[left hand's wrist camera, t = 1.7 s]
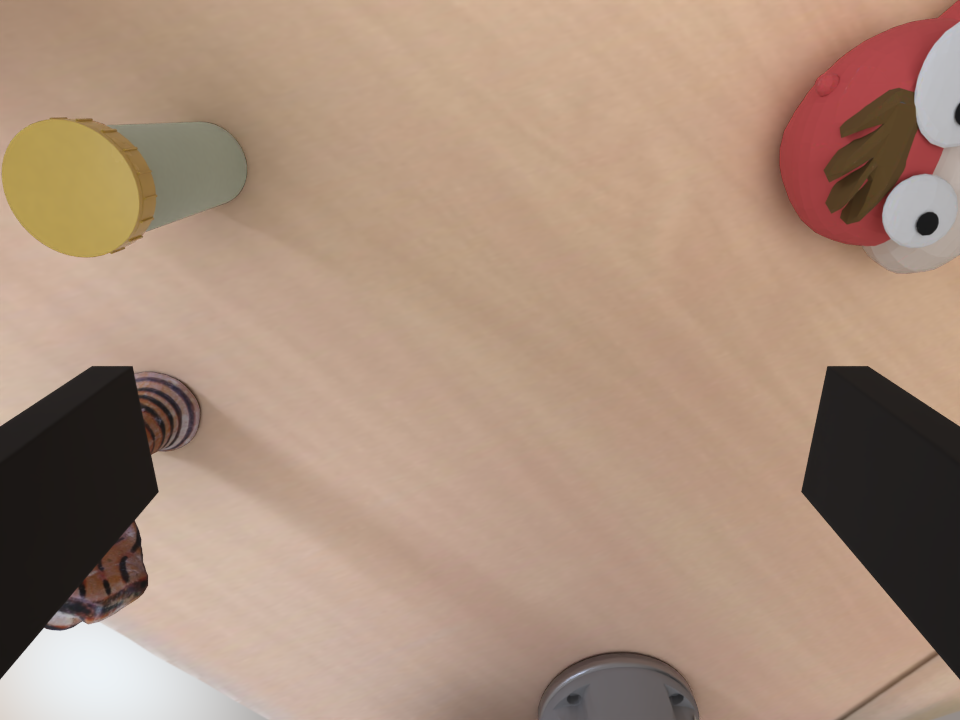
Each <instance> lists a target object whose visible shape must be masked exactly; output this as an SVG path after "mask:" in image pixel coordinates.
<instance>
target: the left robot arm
mask: <svg viewBox="0 0 960 720" xmlns="http://www.w3.org/2000/svg"><path fill="white" fill-rule="evenodd" d="M158 492H159V491H158V487H157V482H156V477H155V472H154V467H153V462H152V458H151V453H150V448H149V443H148V438H147V434H146V429H145V424H144V419H143V414H142V409H141V405H140V400H139V395H138V390H137V385H136V381H135V376H134V371H133V366H92V367H90V368H89V369H87V370H86V371H84V372H83V373H81V374H79V375H78V376H76V377H75V378H73V379H72V380H70V381H69V382H67V383H66V384H64V385H63V386H61V387H60V388H58V389H57V390H55V391H54V392H52V393H51V394H49V395H48V396H46V397H44V398H43V399H41V400H40V401H38V402H37V403H35V404H34V405H32V406H31V407H29V408H28V409H26V410H25V411H23V412H22V413H20V414H19V415H17V416H16V417H14V418H13V419H11V420H9V421H8V422H6V423H5V424H3V425H2V426H0V679H1V678H2V677H3V675H4V674H5V673H6V672H7V671H8V669H9V668H10V667H11V666H12V665H13V664H14V662H15V661H16V660H17V659H18V658H19V656H20V655H21V654H22V653H23V652H24V651H25V649H26V648H27V647H28V646H29V645H30V643H31V642H32V641H33V640H34V639H35V638H36V636H37V635H38V634H39V633H40V632H41V630H42V629H43V628H44V627H45V626H46V625H47V623H48V622H49V621H50V620H51V619H52V617H53V616H54V615H55V614H56V613H57V612H58V610H59V609H60V608H61V607H62V606H63V604H64V603H65V602H66V601H67V600H68V598H69V597H70V596H71V595H72V594H73V593H74V591H75V590H76V589H77V588H78V587H79V585H80V584H81V583H82V582H83V581H84V580H85V578H86V577H87V576H88V575H89V574H90V572H91V571H92V570H93V569H94V568H95V567H96V565H97V564H98V563H99V562H100V561H101V559H102V558H103V557H104V556H105V555H106V554H107V552H108V551H109V550H110V549H111V548H112V546H113V545H114V544H115V543H116V542H117V540H118V539H119V538H120V537H121V536H122V535H123V533H124V532H125V531H126V530H127V529H128V527H129V526H130V525H131V524H132V523H133V522H134V520H135V519H136V518H137V517H138V516H139V514H140V513H141V512H142V511H143V510H144V509H145V507H146V506H147V505H148V504H149V503H150V501H151V500H152V499H153V498H154V497H155V496H156V494H157V493H158ZM801 492H802V493H803V494H804V496H805V497H806V498H807V499H808V500H809V501H810V503H811V504H812V505H813V506H814V507H815V509H816V510H817V511H818V512H819V513H820V514H821V516H822V517H823V518H824V519H825V520H826V522H827V523H828V524H829V525H830V526H831V527H832V529H833V530H834V531H835V532H836V533H837V535H838V536H839V537H840V538H841V539H842V540H843V542H844V543H845V544H846V545H847V546H848V548H849V549H850V550H851V551H852V552H853V554H854V555H855V556H856V557H857V558H858V559H859V561H860V562H861V563H862V564H863V565H864V567H865V568H866V569H867V570H868V571H869V572H870V574H871V575H872V576H873V577H874V578H875V580H876V581H877V582H878V583H879V584H880V585H881V587H882V588H883V589H884V590H885V591H886V593H887V594H888V595H889V596H890V597H891V598H892V600H893V601H894V602H895V603H896V604H897V606H898V607H899V608H900V609H901V610H902V612H903V613H904V614H905V615H906V616H907V617H908V619H909V620H910V621H911V622H912V623H913V625H914V626H915V627H916V628H917V629H918V630H919V632H920V633H921V634H922V635H923V636H924V638H925V639H926V640H927V641H928V642H929V643H930V645H931V646H932V647H933V648H934V649H935V651H936V652H937V653H938V654H939V655H940V656H941V658H942V659H943V660H944V661H945V662H946V664H947V665H948V666H949V667H950V668H951V670H952V671H953V672H954V673H955V674H956V675H957V677H958V678H959V679H960V426H958V425H957V424H955V423H954V422H952V421H951V420H949V419H947V418H946V417H944V416H943V415H941V414H940V413H938V412H937V411H935V410H934V409H932V408H931V407H929V406H928V405H926V404H925V403H923V402H922V401H920V400H919V399H917V398H916V397H914V396H912V395H911V394H909V393H908V392H906V391H905V390H903V389H902V388H900V387H899V386H897V385H896V384H894V383H893V382H891V381H890V380H888V379H887V378H885V377H884V376H882V375H881V374H879V373H877V372H876V371H874V370H873V369H871V368H870V367H868V366H827V371H826V376H825V380H824V385H823V390H822V395H821V400H820V405H819V409H818V414H817V419H816V424H815V429H814V434H813V438H812V443H811V448H810V453H809V458H808V462H807V467H806V472H805V477H804V482H803V487H802V491H801ZM538 720H699V712H698V708H697V705H696V702H695V699H694V697H693V694H692V691H691V689H690V687H689V685H688V683H687V682H686V680H685V679H684V678H683V677H682V676H681V675H680V674H679V673H678V672H677V671H676V670H675V669H673V668H672V667H671V666H669V665H667V664H666V663H664V662H662V661H659V660H657V659H654V658H651V657H648V656H644V655H639V654H631V653H614V654H605V655H600V656H596V657H592V658H589V659H586V660H583V661H581V662H579V663H576V664H575V665H573V666H571V667H569V668H568V669H566V670H565V671H563V672H562V673H561V674H559V675H558V676H557V677H556V678H555V679H554V680H553V681H552V682H551V683H550V685H549V686H548V687H547V689H546V690H545V692H544V694H543V696H542V698H541V701H540V704H539V709H538Z"/></svg>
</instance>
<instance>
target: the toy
mask: <svg viewBox="0 0 960 720" xmlns="http://www.w3.org/2000/svg"><path fill="white" fill-rule="evenodd" d="M780 170H781V176H782V180H783V183H784V186H785V189H786V192H787V194H788V197H789V200H790V202H791V204H792V206H793V207H794V209H795V211H796V212H797V214H798V216H799V217H800V219H801V220H802V221H803V222H804V223H805V224H806V225H808V226H809V227H810V228H811V229H812V230H813V231H814V232H816V233H818V234H820V235H822V236H824V237H826V238H829V239H832V240H834V241H838V242H842V243H845V244H851V245H860V246H862V247H863V249H864V251H865V252H866V254H867V255H868V256H869V257H870V258H871V259H872V260H874V261H875V262H876V263H878V264H879V265H881V266H883V267H884V268H886V269H887V270H889V271H892V272H894V273H902V274H908V273H916V272H925V271H929V270H933V269H936V268H938V267H940V266H942V265H944V264H946V263H947V262H949V261H951V260H952V259H954V258H955V257H957V256H959V255H960V0H958V1H957V2H956V3H955V4H953V5H952V6H951V7H950V8H949V9H948V10H947V11H945V12H944V13H943V14H942V15H941V16H940V17H939V18H934V19H926V20H920V21H914V22H909V23H906V24H903V25H900V26H897V27H894V28H892V29H889V30H887V31H885V32H882V33H880V34H878V35H876V36H874V37H872V38H870V39H868V40H866V41H864V42H863V43H861V44H860V45H858V46H857V47H855V48H854V49H852V50H851V51H849V52H848V53H846V54H845V55H844V56H843V57H841V58H840V59H839V60H838V61H837V62H836V63H835V64H834V65H833V66H832V67H831V68H829V69H828V70H827V71H826V72H825V73H824V74H822V75H821V76H820V77H818V78H817V80H816V82H815V85H814V86H813V87H812V88H811V90H810V91H809V92H808V93H807V95H806V96H805V98H804V99H803V101H802V102H801V104H800V105H799V107H798V108H797V109H796V111H795V112H794V114H793V116H792V118H791V120H790V122H789V123H788V125H787V127H786V129H785V130H784V134H783V138H782V142H781V146H780Z"/></svg>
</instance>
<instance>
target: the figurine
mask: <svg viewBox="0 0 960 720" xmlns="http://www.w3.org/2000/svg"><path fill="white" fill-rule="evenodd" d="M134 376H135V381H136V385H137V390H138V395H139V400H140V405H141V409H142V414H143V419H144V424H145V429H146V434H147V438H148V443H149V448H150V453H151V455H152V454H153V453H155V452H157V451H172V450H175V449H178V448H180V447H182V446H184V445H186V444H187V443H189V442H190V441H191V440H192V438H193V437H194V435H195V433H196V431H197V429H198V425H199V420H200V418H199V417H200V414H199V413H200V408H199V405H198V402H197V400H196V398H195V397H194V395H193V394H192V393H191V392H190V390H189V389H188V388H187V387H186V386H185V385H184V384H182V383H181V382H180V381H179V380H177V379H174V378H172V377H170V376H168V375H165V374H159V373H155V372H142V373H136V374H134ZM147 586H148V574H147V572H146V569H145V566H144V563H143V554H142V547H141V537H140V533H139V530H138V527H137V525H136V523H135V520H134V522H133V523H132V524H131V525H130V526H129V527H128V529H127V530H126V531H125V532H124V533H123V535H122V536H121V537H120V538H119V539H118V540H117V542H116V543H115V544H114V545H113V546H112V548H111V549H110V550H109V551H108V552H107V554H106V555H105V556H104V557H103V558H102V559H101V561H100V562H99V563H98V564H97V565H96V567H95V568H94V569H93V570H92V571H91V572H90V574H89V575H88V576H87V577H86V578H85V580H84V581H83V582H82V583H81V584H80V585H79V587H78V588H77V589H76V590H75V591H74V593H73V594H72V595H71V596H70V597H69V598H68V600H67V601H66V602H65V603H64V604H63V606H62V607H61V608H60V609H59V610H58V612H57V613H56V614H55V615H54V616H53V617H52V619H51V620H50V621H49V622H48V623H47V625H46V626H45V627H44V628H46V629H50V630H66V629H69V628H72V627H74V626H76V625H77V624H79V623H80V622H82V621H83V622H85V623H87V624H92V623H96V622H99V621H101V620H104V619H106V618H108V617H109V616H111V615H113V614H115V613H117V612H118V611H119V610H121V609H122V608H124V607H125V606H127V605H128V604H130V603H132V602H133V601H135V600H136V599H138V598H139V597H140V596H141V595H142V594H143V593H144V591H145V590H146V588H147Z"/></svg>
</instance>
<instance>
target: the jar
mask: <svg viewBox="0 0 960 720" xmlns="http://www.w3.org/2000/svg"><path fill="white" fill-rule="evenodd" d="M106 126H108V127H110V128H112V129H117V132H119V133H120V134H121V135H123V136H124V137H125V138H127V139H128V140H129V141H130V142H131V143H132V144H133V145H134V146H135V147H137V148H138V149H137V150H138V151H139V152H140V153H141V155H142V156H143V158H144V160H145V161H146V163H147V165H148V167H149V169H150V170H151V171H152V172H151V174H152V177H153V180H154V184H155V190H156V195H157V197H156V207H155V212H154V216H153V218H154V220H152V221H151V223H150V225H149V227H148V229H147V230H146V232H147V231H149V230H152V229H155V228H158V227H161V226H163V225H166V224H169V223H172V222H174V221H177V220H180V219H183V218H186V217H188V216H191V215H194V214H197V213H199V212H202V211H205V210H208V209H211V208H213V207H216V206H219V205H222V204H224V203H227V202H229V201H231V200H232V199H234V198H235V197H236V196H237V195H238V194H239V193H240V191H241V190H242V188H243V186H244V184H245V181H246V176H247V164H246V159H245V155H244V153H243V150H242V148H241V147H240V145H239V143H238V142H237V141H236V139H235V138H234V137H233V136H232V135H231V134H230V133H229V132H227V131H226V130H224V129H223V128H221V127H219V126H217V125H215V124H212V123H207V122H182V123H155V124H128V125H106Z"/></svg>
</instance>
